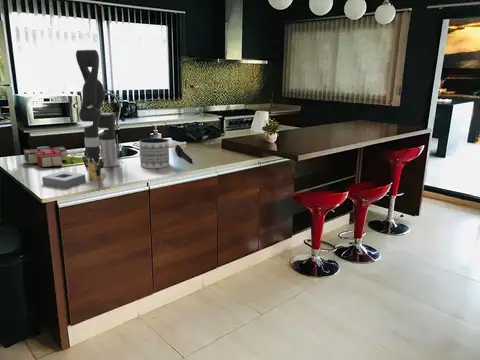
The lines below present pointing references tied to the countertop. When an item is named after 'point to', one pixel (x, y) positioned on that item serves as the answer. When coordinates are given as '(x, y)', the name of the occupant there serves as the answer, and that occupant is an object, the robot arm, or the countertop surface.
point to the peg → (93, 171)
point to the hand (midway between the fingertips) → (94, 175)
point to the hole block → (64, 179)
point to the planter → (154, 152)
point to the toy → (46, 156)
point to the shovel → (182, 153)
